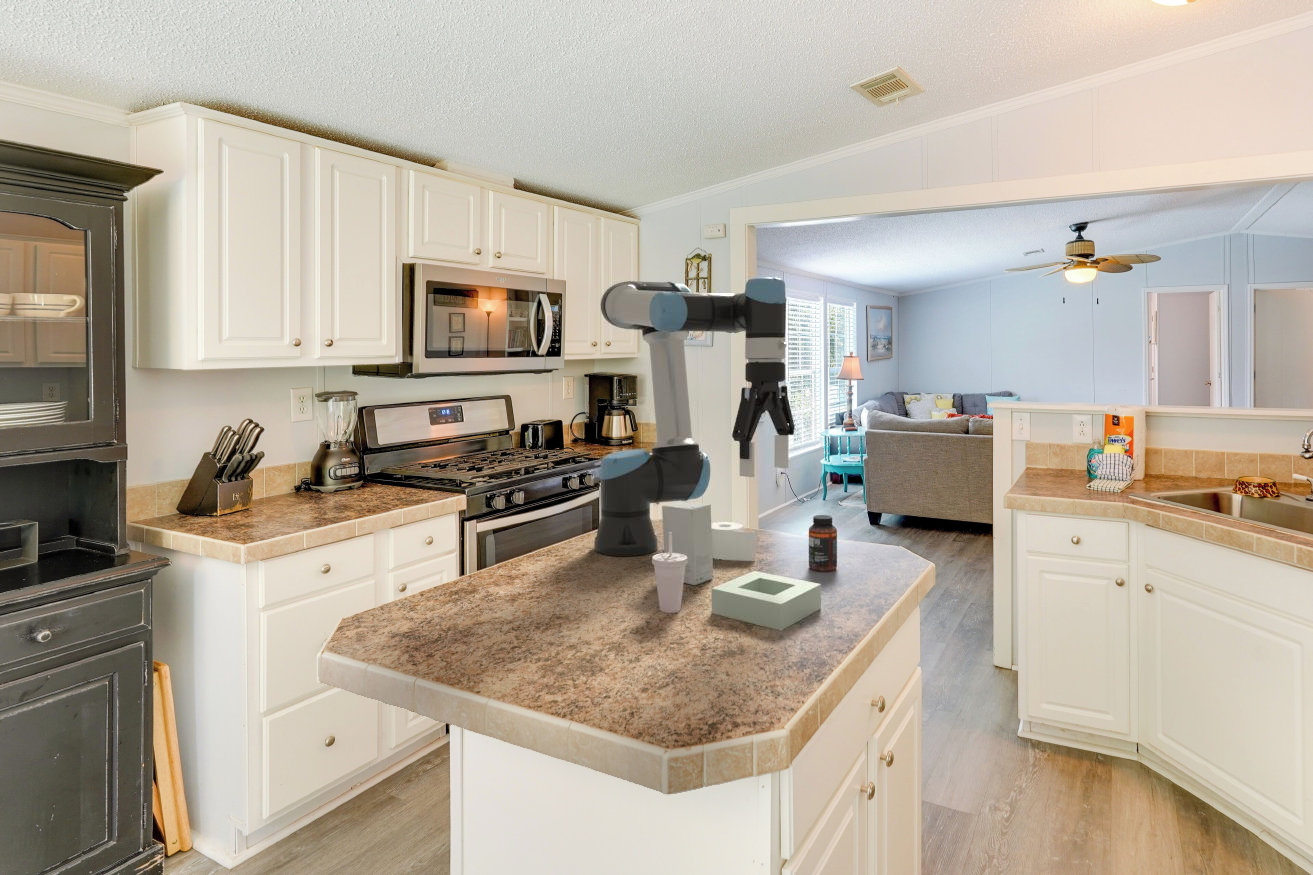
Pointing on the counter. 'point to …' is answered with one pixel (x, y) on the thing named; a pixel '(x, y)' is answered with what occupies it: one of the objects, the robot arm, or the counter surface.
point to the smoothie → (669, 578)
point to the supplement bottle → (822, 544)
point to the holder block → (766, 599)
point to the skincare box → (690, 538)
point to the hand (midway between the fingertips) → (764, 472)
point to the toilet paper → (732, 542)
